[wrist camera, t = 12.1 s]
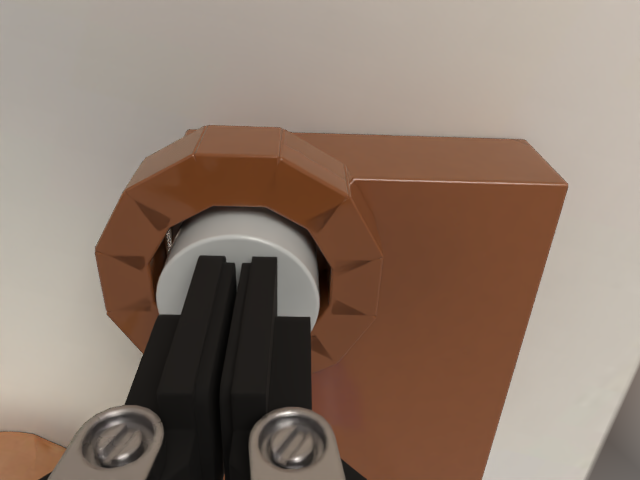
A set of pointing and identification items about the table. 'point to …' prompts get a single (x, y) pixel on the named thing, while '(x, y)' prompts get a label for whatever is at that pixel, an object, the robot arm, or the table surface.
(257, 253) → the white cylindrical plug
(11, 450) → the potted plant
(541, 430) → the table surface
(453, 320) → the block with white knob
